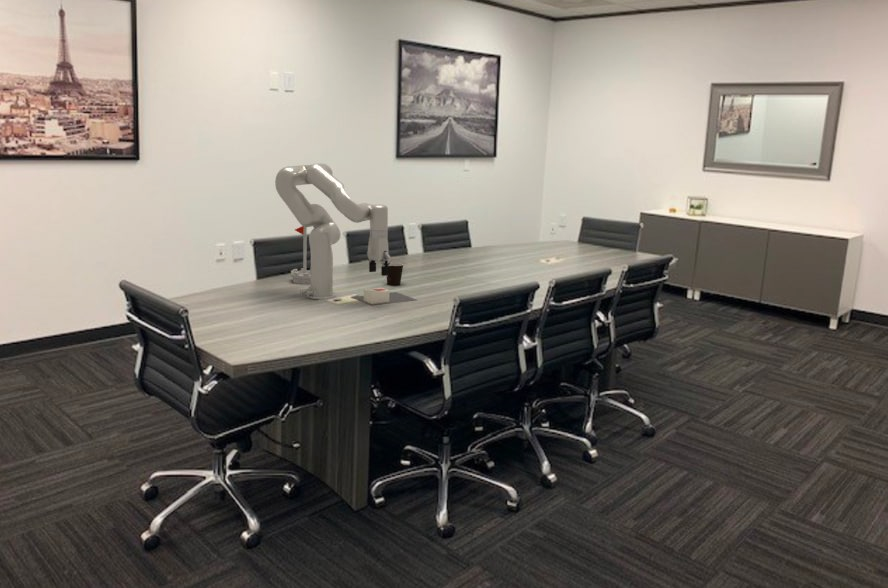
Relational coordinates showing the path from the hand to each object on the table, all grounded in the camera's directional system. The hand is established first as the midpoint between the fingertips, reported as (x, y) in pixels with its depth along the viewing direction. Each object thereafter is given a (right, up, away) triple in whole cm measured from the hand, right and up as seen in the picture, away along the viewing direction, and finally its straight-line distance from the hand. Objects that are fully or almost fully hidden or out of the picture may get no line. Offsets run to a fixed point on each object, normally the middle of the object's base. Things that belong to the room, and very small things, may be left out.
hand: (378, 273), depth 312 cm
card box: (-1, -12, +3) cm, 12 cm away
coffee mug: (+4, -4, +44) cm, 44 cm away
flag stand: (-39, -3, +38) cm, 55 cm away
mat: (+2, -11, +9) cm, 15 cm away
